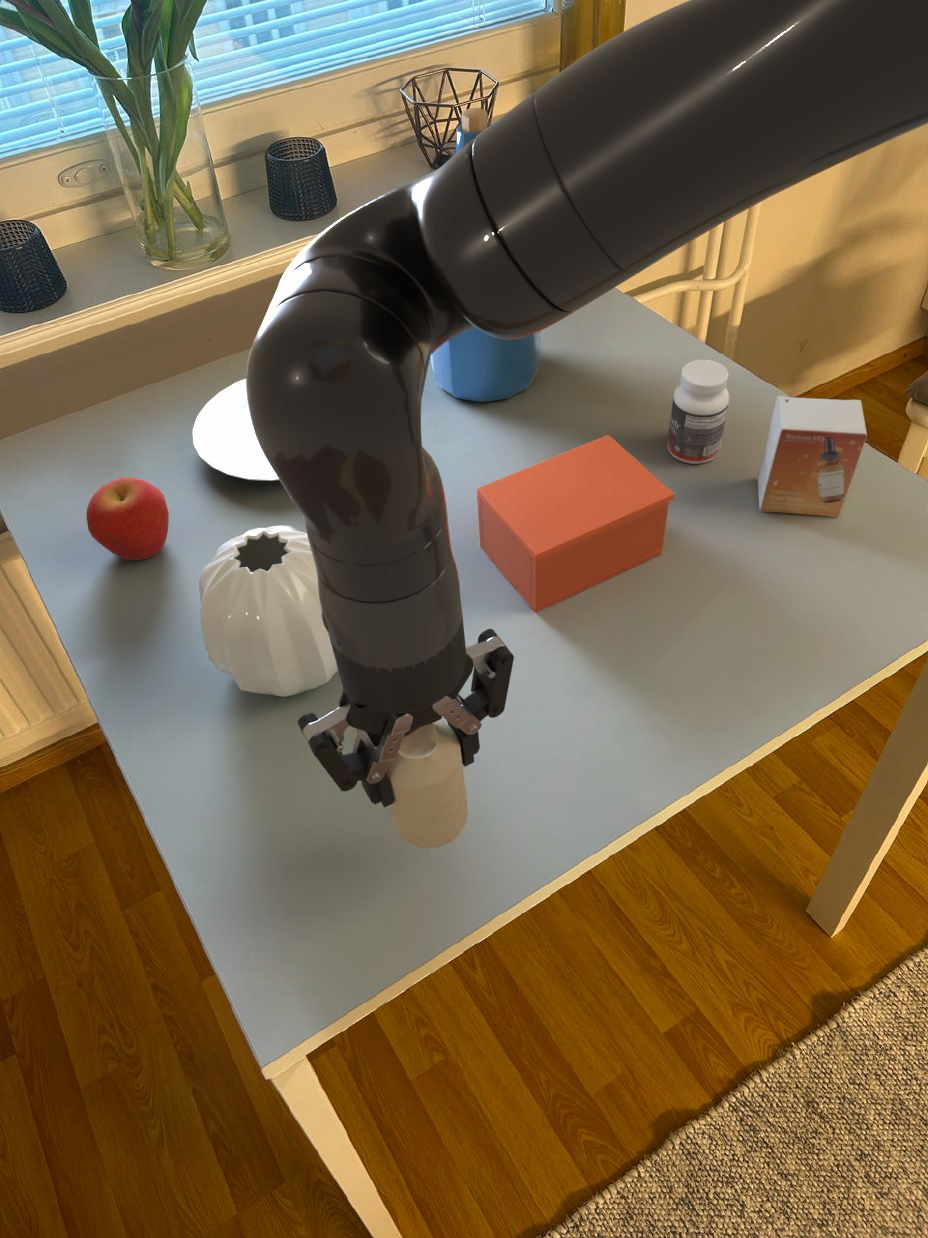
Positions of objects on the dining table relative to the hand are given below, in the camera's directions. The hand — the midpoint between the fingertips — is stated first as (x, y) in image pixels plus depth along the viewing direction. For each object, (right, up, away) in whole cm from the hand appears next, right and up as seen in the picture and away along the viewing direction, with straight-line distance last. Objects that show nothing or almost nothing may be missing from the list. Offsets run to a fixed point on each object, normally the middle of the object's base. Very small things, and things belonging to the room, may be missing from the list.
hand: (423, 774), depth 64 cm
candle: (0, -4, +4) cm, 6 cm away
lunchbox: (+13, +18, +29) cm, 36 cm away
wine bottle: (+5, +40, +50) cm, 64 cm away
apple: (-31, +18, +33) cm, 48 cm away
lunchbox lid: (+13, +22, +24) cm, 35 cm away
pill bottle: (+28, +29, +38) cm, 56 cm away
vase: (-13, +7, +22) cm, 27 cm away
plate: (-18, +32, +44) cm, 57 cm away
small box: (+37, +23, +32) cm, 54 cm away
